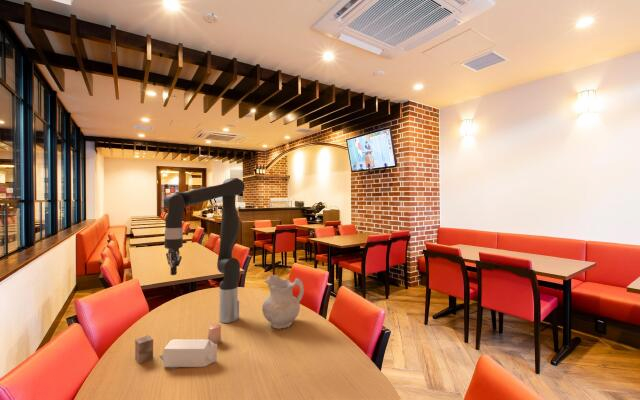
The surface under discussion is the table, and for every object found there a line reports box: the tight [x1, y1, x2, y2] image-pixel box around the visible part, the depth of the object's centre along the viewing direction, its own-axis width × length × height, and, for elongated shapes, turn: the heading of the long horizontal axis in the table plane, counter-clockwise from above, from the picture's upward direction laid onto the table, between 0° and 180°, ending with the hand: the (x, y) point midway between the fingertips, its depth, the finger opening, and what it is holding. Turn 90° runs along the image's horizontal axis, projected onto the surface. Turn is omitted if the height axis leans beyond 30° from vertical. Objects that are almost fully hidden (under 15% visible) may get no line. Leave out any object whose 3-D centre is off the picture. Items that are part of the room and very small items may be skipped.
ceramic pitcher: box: [261, 274, 305, 330], centre depth 152 cm, size 22×20×25 cm
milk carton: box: [162, 338, 218, 368], centre depth 116 cm, size 7×7×19 cm
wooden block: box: [134, 334, 154, 365], centre depth 118 cm, size 5×5×8 cm
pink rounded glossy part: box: [207, 323, 222, 346], centre depth 132 cm, size 6×6×7 cm
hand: (173, 274), depth 136 cm, fingers closed
